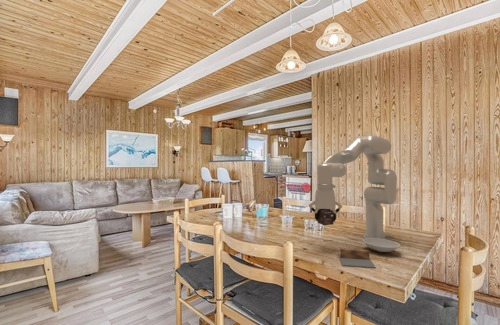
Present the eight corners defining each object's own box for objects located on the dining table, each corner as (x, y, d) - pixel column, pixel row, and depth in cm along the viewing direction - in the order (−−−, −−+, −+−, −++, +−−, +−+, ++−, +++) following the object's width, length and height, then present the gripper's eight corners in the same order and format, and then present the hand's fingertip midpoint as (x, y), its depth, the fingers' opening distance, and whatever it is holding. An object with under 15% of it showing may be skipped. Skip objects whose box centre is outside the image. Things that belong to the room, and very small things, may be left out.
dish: (401, 251, 133) (401, 241, 133) (399, 260, 121) (399, 249, 121) (365, 244, 143) (365, 236, 143) (360, 252, 131) (360, 243, 131)
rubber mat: (367, 256, 125) (367, 255, 125) (375, 268, 112) (375, 267, 112) (338, 254, 128) (338, 253, 128) (342, 266, 115) (342, 264, 115)
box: (323, 225, 128) (323, 211, 128) (317, 222, 134) (316, 209, 133) (333, 224, 129) (333, 210, 129) (327, 221, 135) (327, 208, 135)
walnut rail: (368, 258, 121) (368, 250, 121) (369, 259, 120) (369, 251, 120) (340, 256, 124) (340, 248, 124) (340, 257, 123) (340, 249, 123)
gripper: (341, 186, 133) (341, 219, 133) (307, 186, 137) (308, 218, 137) (343, 188, 126) (344, 223, 126) (307, 188, 129) (308, 221, 130)
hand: (325, 220), depth 131 cm, fingers closed on box, 8 cm apart
